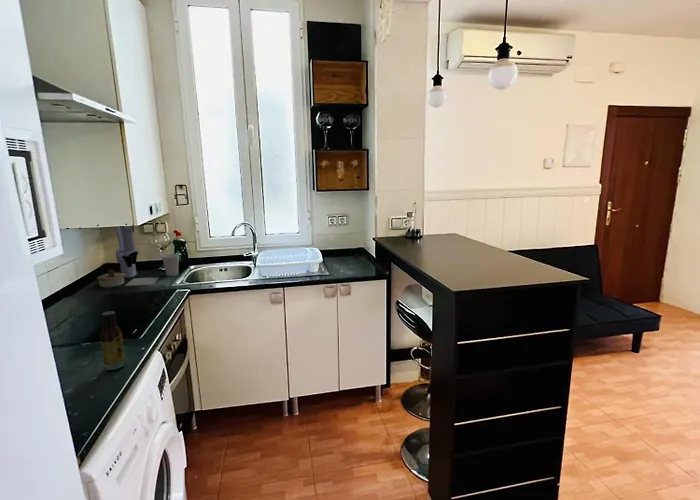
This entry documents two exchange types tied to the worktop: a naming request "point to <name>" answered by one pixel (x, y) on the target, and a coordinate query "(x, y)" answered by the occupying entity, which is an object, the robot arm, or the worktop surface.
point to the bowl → (111, 283)
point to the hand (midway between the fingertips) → (131, 265)
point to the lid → (111, 276)
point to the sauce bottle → (111, 340)
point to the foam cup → (171, 264)
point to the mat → (142, 281)
